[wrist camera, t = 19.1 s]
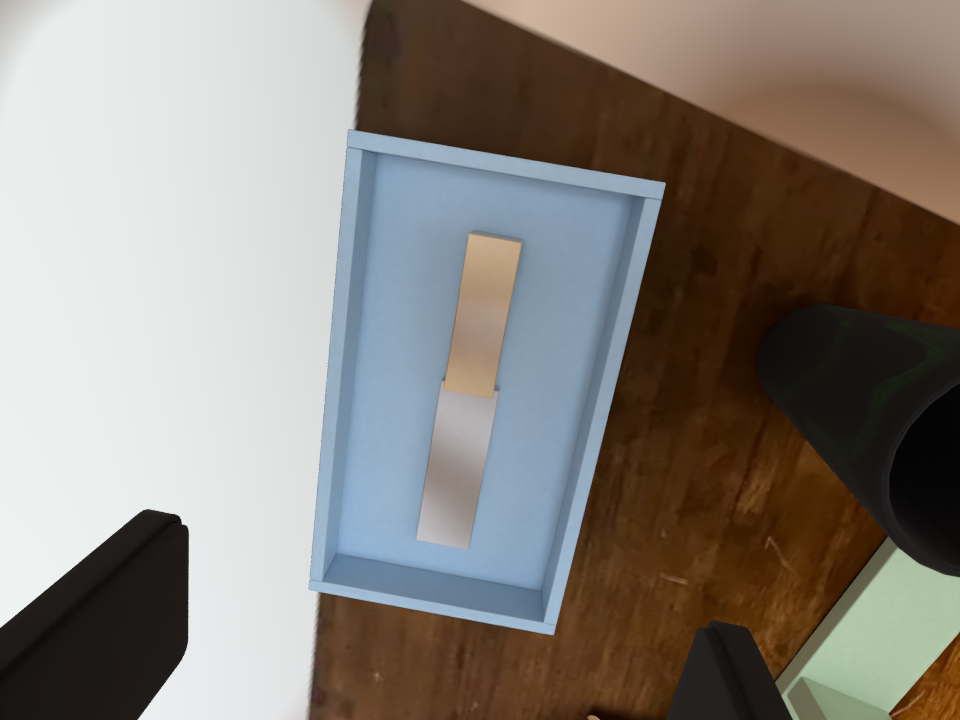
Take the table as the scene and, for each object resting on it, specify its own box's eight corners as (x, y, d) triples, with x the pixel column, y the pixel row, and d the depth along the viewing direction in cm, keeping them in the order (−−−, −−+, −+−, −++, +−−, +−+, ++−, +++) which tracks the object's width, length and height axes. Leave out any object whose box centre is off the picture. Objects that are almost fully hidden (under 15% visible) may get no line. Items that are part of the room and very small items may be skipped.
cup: (824, 454, 30) (1016, 621, 18) (703, 383, 29) (822, 508, 18) (931, 332, 27) (1224, 434, 16) (802, 252, 27) (1012, 297, 15)
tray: (368, 136, 27) (347, 129, 24) (649, 183, 26) (666, 182, 23) (328, 552, 34) (308, 590, 30) (550, 593, 33) (553, 635, 30)
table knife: (466, 228, 27) (461, 231, 25) (528, 240, 27) (529, 243, 25) (417, 533, 32) (410, 555, 30) (469, 543, 32) (466, 565, 30)
